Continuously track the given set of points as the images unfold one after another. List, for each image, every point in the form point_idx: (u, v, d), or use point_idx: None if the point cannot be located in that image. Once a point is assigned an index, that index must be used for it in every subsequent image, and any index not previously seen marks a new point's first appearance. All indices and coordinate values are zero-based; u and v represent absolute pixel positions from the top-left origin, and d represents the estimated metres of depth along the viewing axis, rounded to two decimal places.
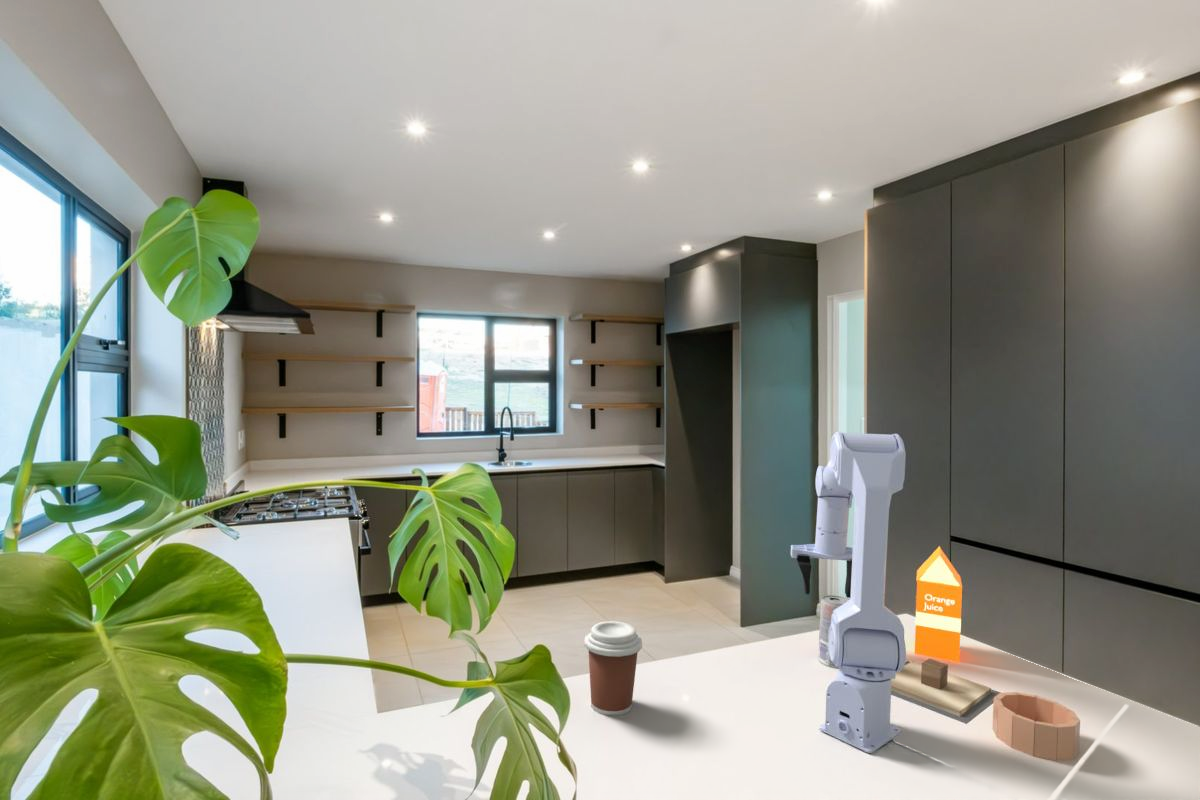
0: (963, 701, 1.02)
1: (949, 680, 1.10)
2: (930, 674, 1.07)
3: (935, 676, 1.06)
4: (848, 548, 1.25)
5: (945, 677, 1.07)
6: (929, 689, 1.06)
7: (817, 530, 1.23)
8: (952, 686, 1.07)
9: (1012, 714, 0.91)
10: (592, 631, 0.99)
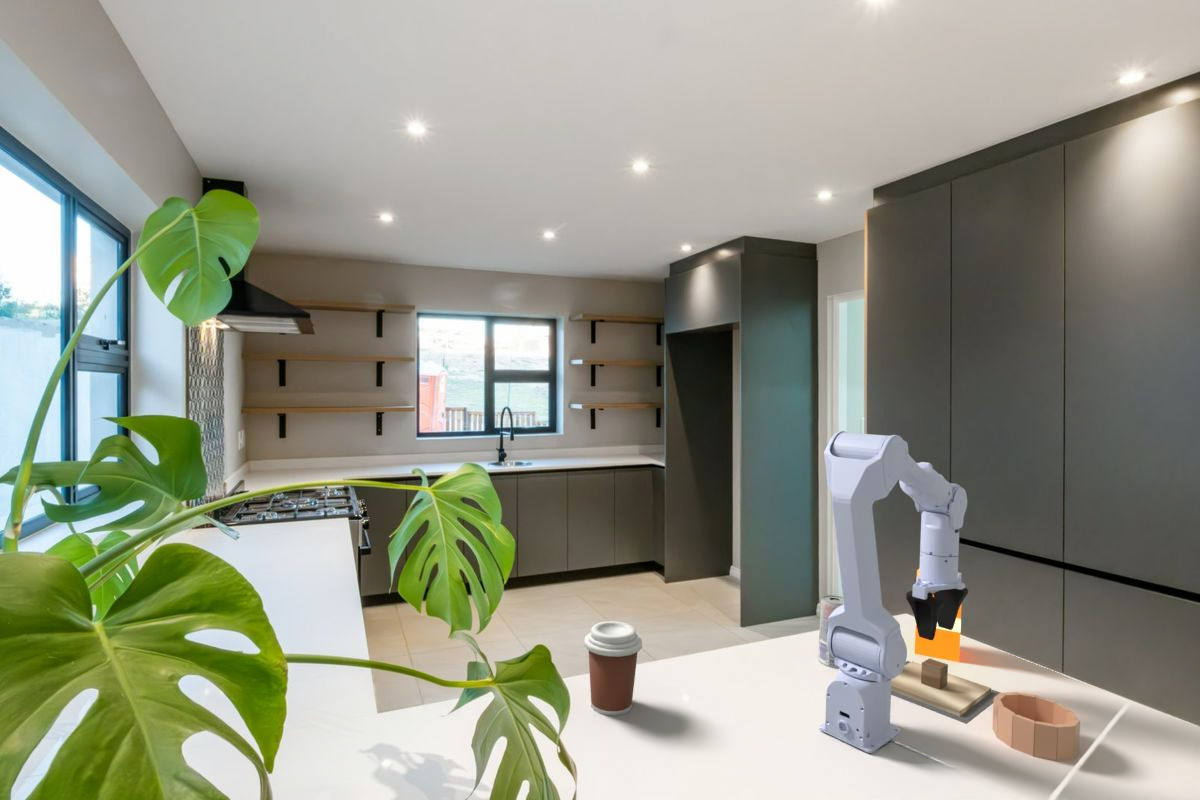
0: (963, 701, 1.02)
1: (949, 680, 1.10)
2: (930, 674, 1.07)
3: (935, 676, 1.06)
4: None
5: (945, 677, 1.07)
6: (929, 689, 1.06)
7: None
8: (952, 686, 1.07)
9: (1012, 714, 0.91)
10: (592, 631, 0.99)
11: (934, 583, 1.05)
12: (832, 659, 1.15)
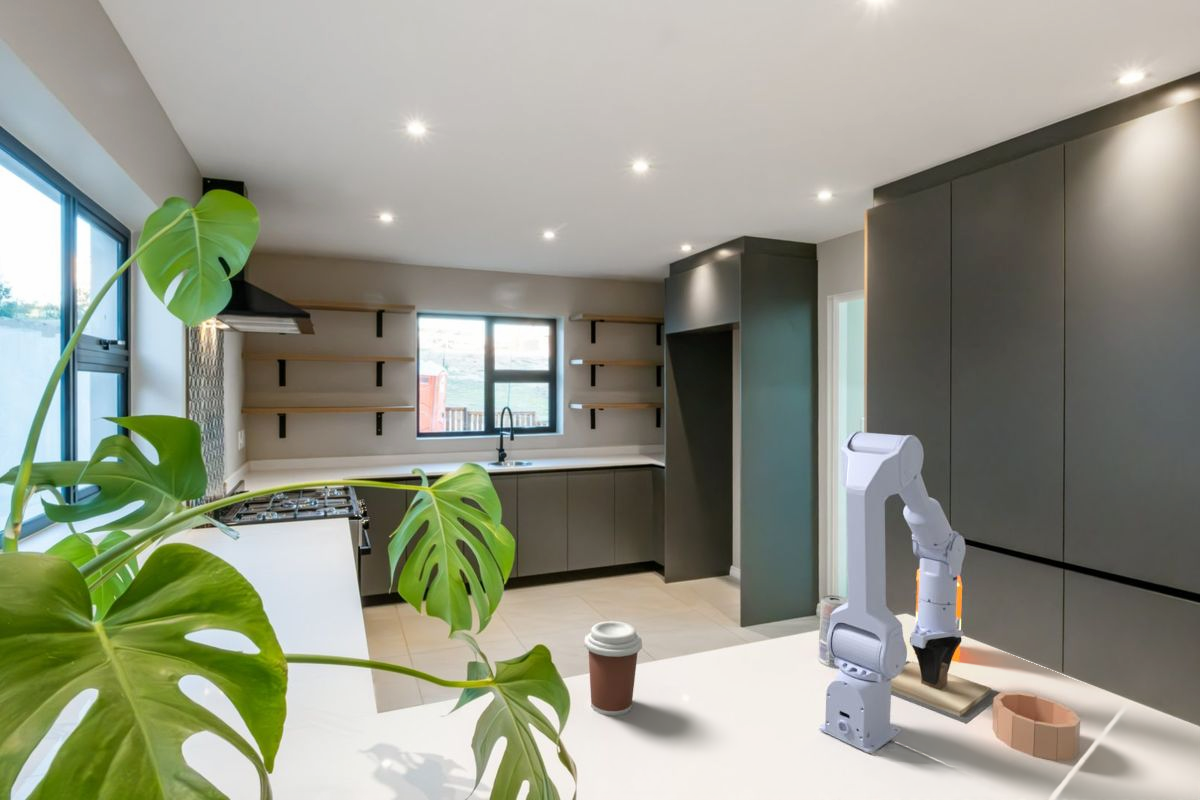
0: (963, 701, 1.02)
1: (949, 680, 1.10)
2: None
3: None
4: None
5: (945, 677, 1.07)
6: (929, 689, 1.06)
7: None
8: (952, 686, 1.07)
9: (1012, 714, 0.91)
10: (592, 631, 0.99)
11: (932, 631, 1.05)
12: (832, 659, 1.15)
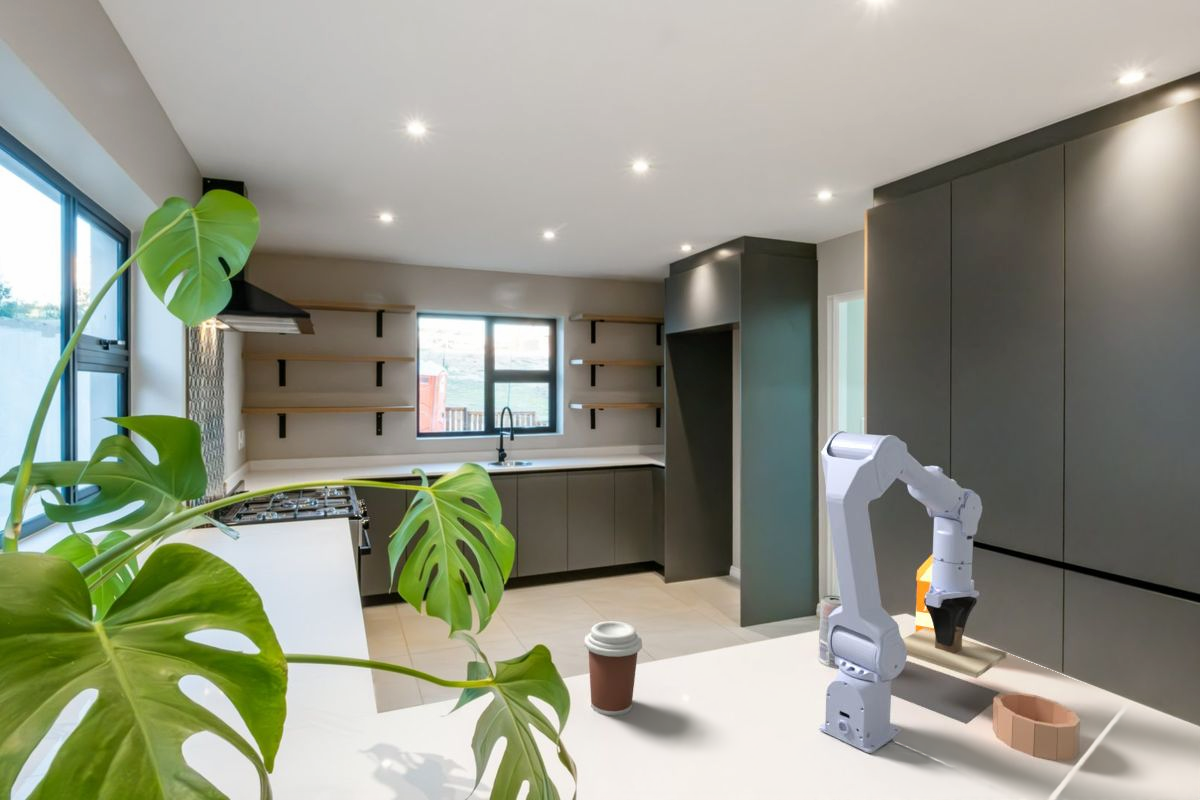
0: (979, 664, 1.00)
1: (963, 645, 1.07)
2: None
3: None
4: None
5: (960, 641, 1.05)
6: (944, 652, 1.04)
7: None
8: (967, 650, 1.05)
9: (1012, 714, 0.91)
10: (592, 631, 0.99)
11: (947, 591, 1.03)
12: (832, 659, 1.15)
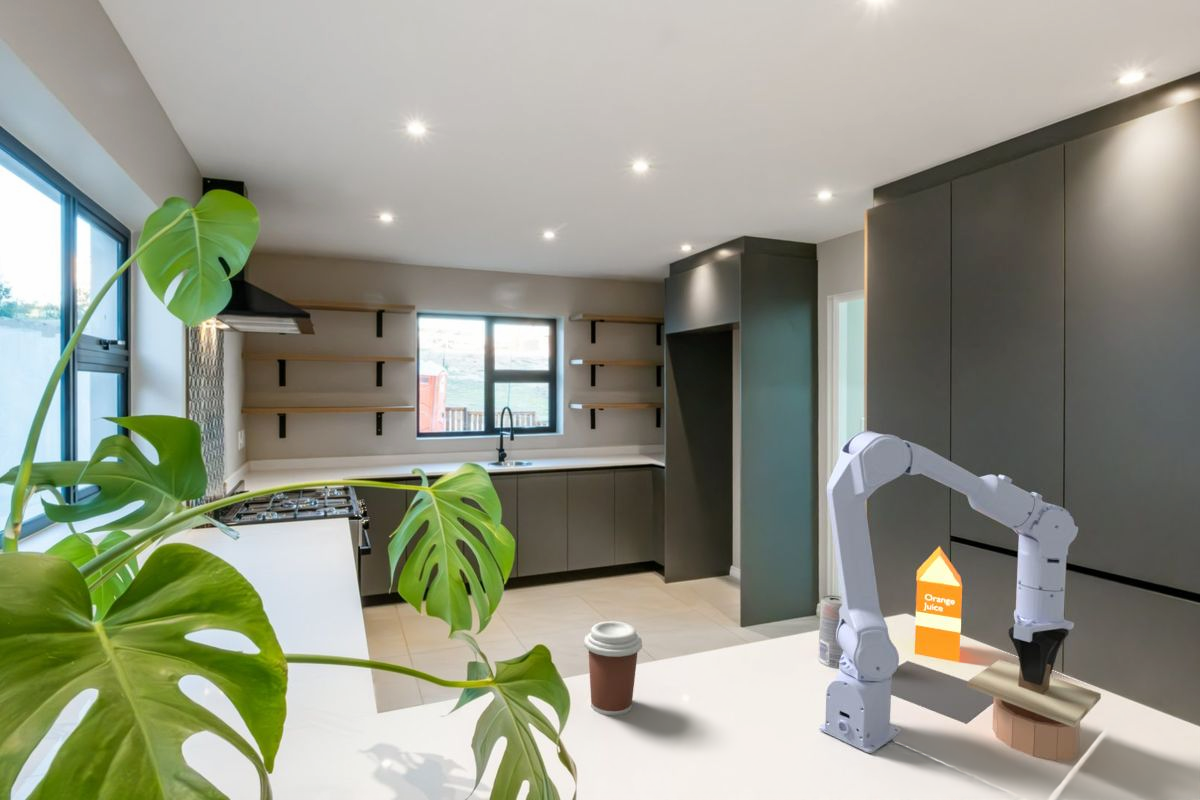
0: (1074, 709, 0.87)
1: (1049, 683, 0.94)
2: None
3: None
4: None
5: (1048, 680, 0.92)
6: (1030, 693, 0.91)
7: None
8: (1055, 690, 0.92)
9: (1012, 714, 0.91)
10: (592, 631, 0.99)
11: (1037, 622, 0.90)
12: (832, 659, 1.15)
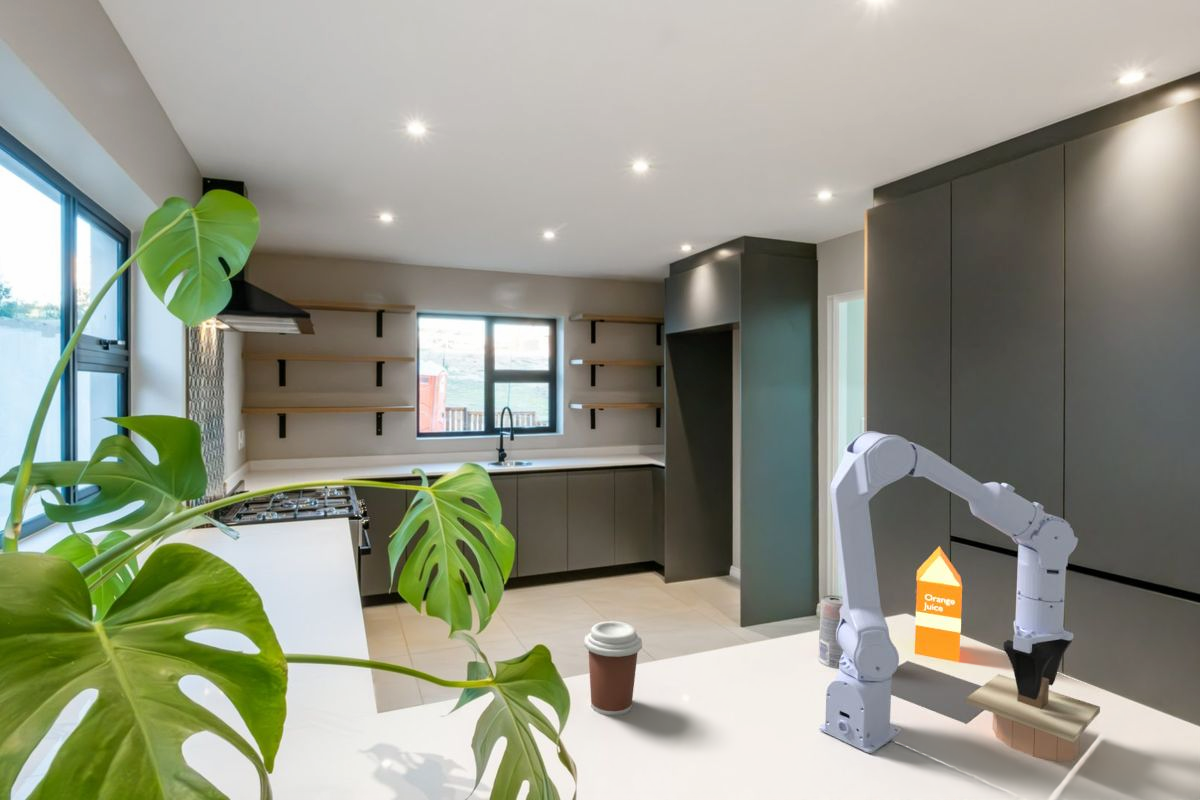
0: (1073, 723, 0.87)
1: (1048, 697, 0.94)
2: None
3: None
4: None
5: (1046, 694, 0.92)
6: (1029, 708, 0.91)
7: None
8: (1054, 704, 0.92)
9: None
10: (592, 631, 0.99)
11: (1037, 632, 0.90)
12: (832, 659, 1.15)
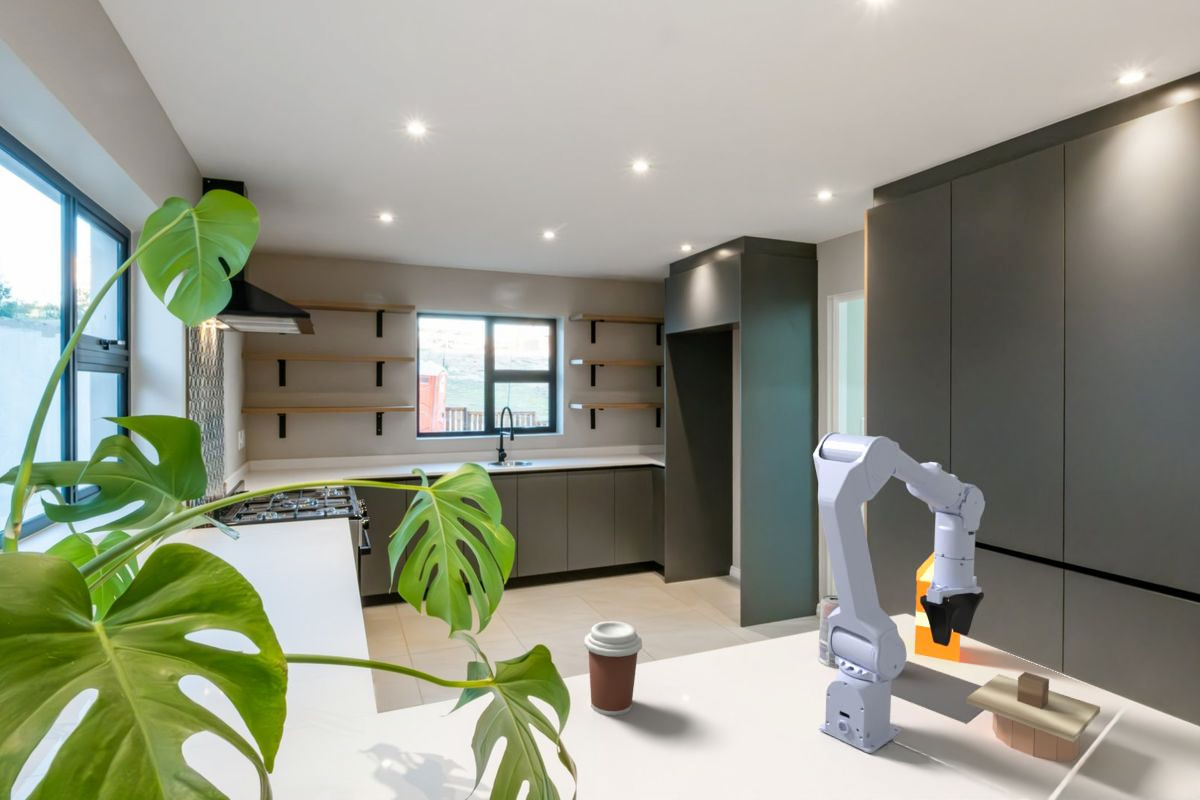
0: (1073, 723, 0.87)
1: (1048, 697, 0.94)
2: (1030, 691, 0.92)
3: (1036, 693, 0.91)
4: None
5: (1046, 694, 0.92)
6: (1029, 708, 0.91)
7: None
8: (1054, 704, 0.92)
9: None
10: (592, 631, 0.99)
11: (949, 587, 1.02)
12: (832, 659, 1.15)
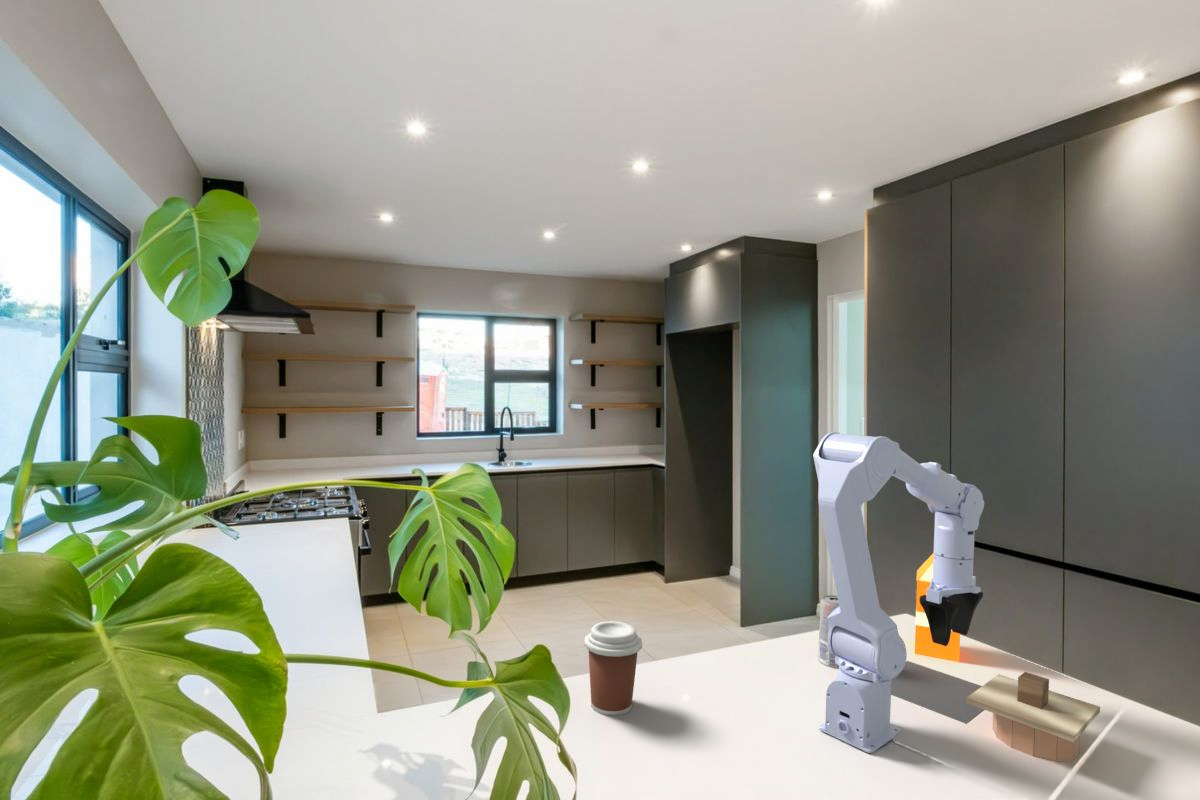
0: (1073, 723, 0.87)
1: (1048, 697, 0.94)
2: (1030, 691, 0.92)
3: (1036, 693, 0.91)
4: None
5: (1046, 694, 0.92)
6: (1029, 708, 0.91)
7: None
8: (1054, 704, 0.92)
9: None
10: (592, 631, 0.99)
11: (948, 587, 1.02)
12: (832, 659, 1.15)
